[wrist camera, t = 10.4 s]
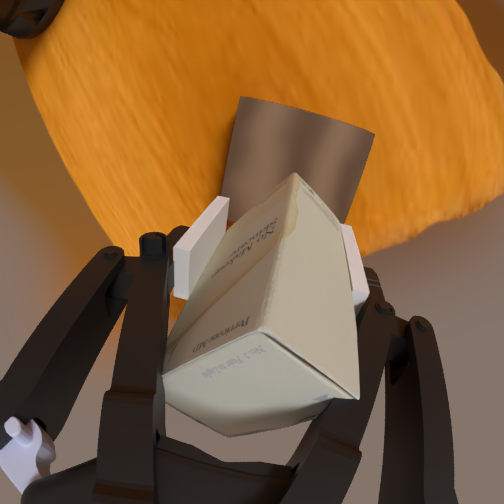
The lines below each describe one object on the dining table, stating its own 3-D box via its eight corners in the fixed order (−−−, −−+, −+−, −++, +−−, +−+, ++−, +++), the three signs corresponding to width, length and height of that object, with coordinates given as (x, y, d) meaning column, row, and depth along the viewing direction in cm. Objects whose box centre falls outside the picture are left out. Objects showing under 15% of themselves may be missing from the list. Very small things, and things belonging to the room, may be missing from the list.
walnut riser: (227, 202, 37) (216, 217, 32) (249, 97, 29) (240, 96, 25) (330, 231, 36) (333, 250, 32) (365, 129, 29) (375, 134, 24)
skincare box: (294, 169, 16) (264, 315, 5) (342, 223, 17) (372, 403, 6) (223, 231, 19) (134, 386, 8) (269, 275, 20) (227, 441, 9)
